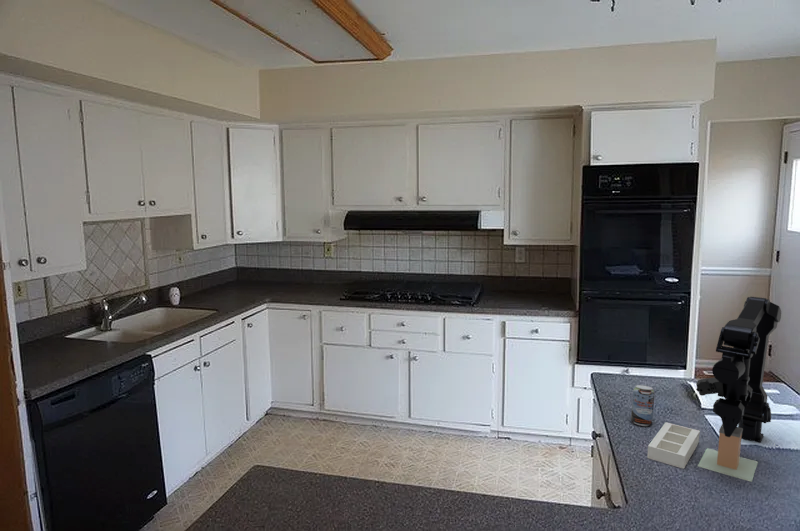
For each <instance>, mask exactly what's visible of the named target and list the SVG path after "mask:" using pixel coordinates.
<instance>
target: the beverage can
mask: <svg viewBox="0 0 800 531" xmlns="http://www.w3.org/2000/svg"><path fill="white" fill-rule="evenodd" d="M632 391H633V392H632V399H631V400H632V401H631V403H632V404H631V413H630V414H631V416H630V420H631V422H632V423H633V424H635V425H637V426H642V427H649V426H650V425H652V424H653V420H654V419H653V418H654V416H653V415H654V405H655V391H654V388H653V387H651V386H648V385H642V384H636V385H635V387H634V389H633V390H632Z"/></svg>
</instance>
